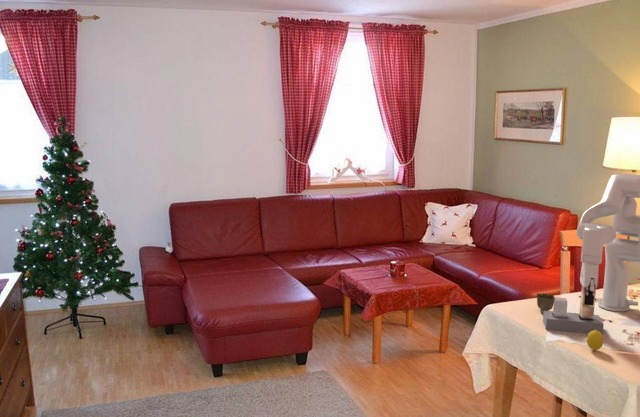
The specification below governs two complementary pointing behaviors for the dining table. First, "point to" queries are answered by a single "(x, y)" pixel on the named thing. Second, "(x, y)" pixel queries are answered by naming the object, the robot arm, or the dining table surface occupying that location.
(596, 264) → the robot arm
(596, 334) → the lemon
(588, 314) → the birch plug
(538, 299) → the cup
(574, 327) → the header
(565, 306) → the metal plug
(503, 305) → the dining table surface
